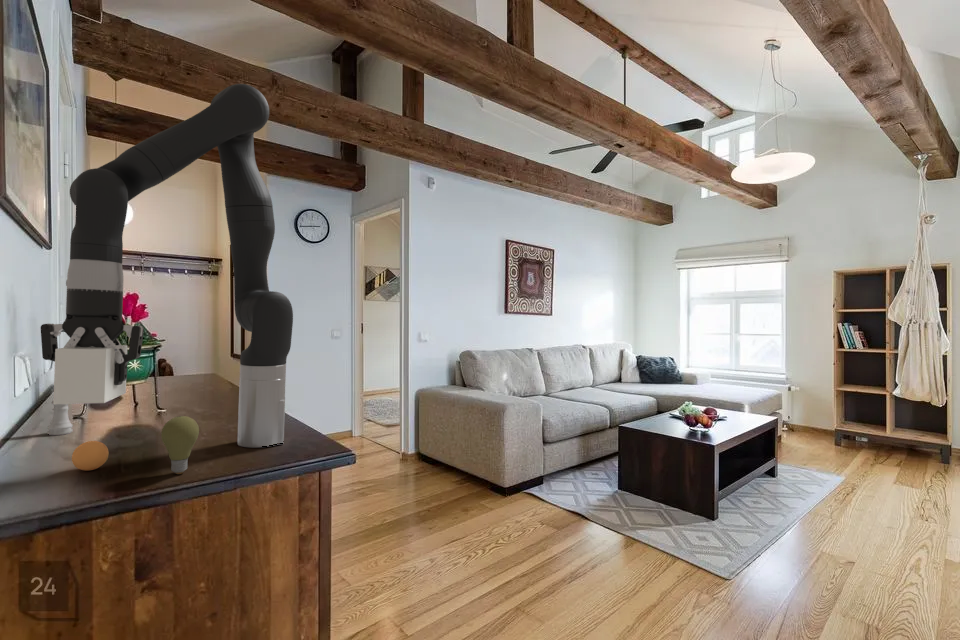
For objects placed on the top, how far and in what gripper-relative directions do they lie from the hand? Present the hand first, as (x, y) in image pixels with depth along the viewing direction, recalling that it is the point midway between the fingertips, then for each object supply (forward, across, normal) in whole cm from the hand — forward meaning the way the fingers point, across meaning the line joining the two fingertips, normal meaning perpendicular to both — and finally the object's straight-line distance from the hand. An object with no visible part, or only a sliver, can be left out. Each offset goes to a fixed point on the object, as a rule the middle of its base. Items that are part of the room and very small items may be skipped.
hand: (92, 384), depth 81 cm
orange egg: (+13, +1, -2) cm, 13 cm away
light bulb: (+15, -14, +4) cm, 21 cm away
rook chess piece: (+15, +16, -33) cm, 40 cm away
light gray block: (+2, 0, 0) cm, 2 cm away
